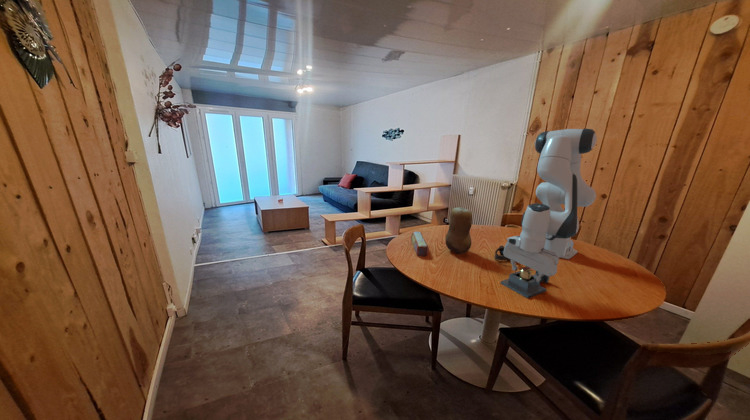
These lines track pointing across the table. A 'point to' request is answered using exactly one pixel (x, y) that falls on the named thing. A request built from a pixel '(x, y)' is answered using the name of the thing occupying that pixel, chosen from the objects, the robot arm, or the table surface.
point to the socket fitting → (525, 284)
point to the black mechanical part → (498, 257)
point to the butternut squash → (459, 231)
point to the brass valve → (525, 273)
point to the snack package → (419, 244)
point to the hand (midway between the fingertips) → (525, 275)
